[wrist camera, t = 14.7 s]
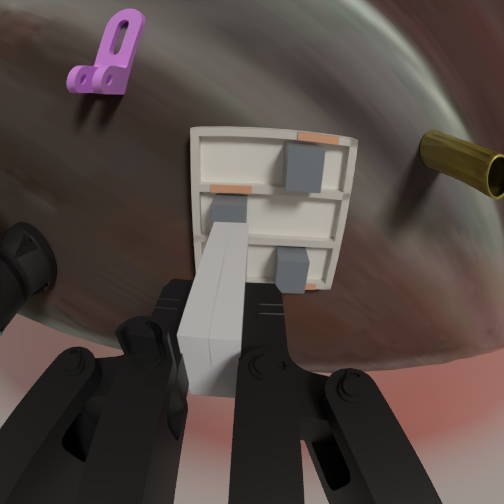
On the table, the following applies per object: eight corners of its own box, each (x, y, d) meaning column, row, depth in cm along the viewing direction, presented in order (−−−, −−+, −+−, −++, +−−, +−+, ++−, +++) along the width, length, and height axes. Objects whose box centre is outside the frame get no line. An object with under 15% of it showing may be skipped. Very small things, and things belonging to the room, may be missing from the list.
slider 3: (273, 275, 40) (274, 292, 36) (276, 245, 37) (278, 260, 34) (300, 276, 40) (304, 293, 36) (305, 247, 37) (309, 262, 34)
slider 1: (216, 229, 36) (211, 243, 33) (216, 193, 34) (211, 204, 30) (246, 230, 36) (244, 244, 33) (247, 194, 34) (246, 205, 30)
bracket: (124, 94, 29) (98, 94, 23) (93, 92, 28) (64, 93, 22) (150, 10, 22) (129, -5, 16) (117, 12, 22) (92, -1, 16)
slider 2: (282, 181, 33) (285, 190, 29) (285, 142, 30) (288, 146, 27) (313, 184, 33) (320, 193, 29) (317, 145, 30) (325, 150, 27)
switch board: (200, 273, 42) (196, 284, 40) (195, 126, 31) (190, 128, 29) (326, 279, 42) (330, 290, 40) (351, 137, 31) (358, 140, 29)
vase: (434, 177, 33) (495, 213, 21) (412, 149, 31) (477, 176, 19) (454, 150, 30) (518, 177, 18) (434, 121, 29) (502, 138, 16)
